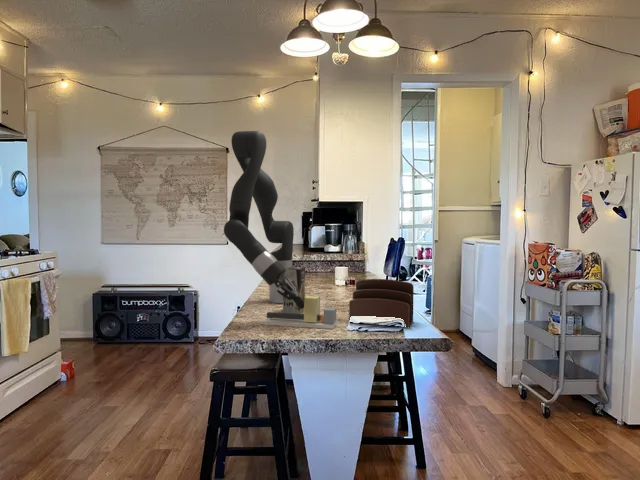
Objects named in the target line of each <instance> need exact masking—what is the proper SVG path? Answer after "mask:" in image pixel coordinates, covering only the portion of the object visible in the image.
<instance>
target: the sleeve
mask: <svg viewBox="0 0 640 480" xmlns="http://www.w3.org/2000/svg"><path fill="white" fill-rule="evenodd" d="M303 314H304V322H317V315H321V295H307V296H305V298H304V310H303Z"/></svg>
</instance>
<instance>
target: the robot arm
mask: <svg viewBox="0 0 640 480" xmlns="http://www.w3.org/2000/svg"><path fill="white" fill-rule="evenodd" d="M231 147H232V151H233V154H234V156H235V158H236V160H237V162H238V164H239V167H240V168H241V170H242V174H241V176H240V177H239V178H238V179H237V180H236V182H235V183H234V185H233V187H232V191H231V195H230V200H229V207H228V209H229V219H228V221H226V222H225V224H224V226H223V233H224V236H225V238H227V240H228V241H229V242H230V243H232V245H234V246H235V247H236V248H237V250H239V252H240V253H241V254H242V255H243V257H244V258H245V260H246V261H247V262H248V263H249V264H250V265H251V266H252V267H253V268H254V270H255V271H256V273H257V274H258V275H259V276H260V277H261V278H262V279H263V281H264V282H265V283H266V284H268V285H269V294H268V295H269V296H268V297H269V298H268V299H269V302H270V303H273V304H283V296H284V297H285V298H287V299H288V300H292V301H294V302H295V303H296V304H297V305H298V306H299V307H300V308H301V309H303V308H304V300H303V299H302V298H301V297H300V292H299V290H298V288H297V286H296V284H295V283H294V281H292V282H291V281H290V279H288V278H286V277H285V276H284V274H285V272H286V268H289V267H293V251H294V235H295V234H294V229H295V228H294V225H293V223H292V222H291V221H290V220H275V219H274V217H273V211H274V209H275V207H276V205H277V202H278V199H279V196H278V191H277V188H276V186H275V182H274V180H273V179H272V178H271V176H269V174H267V173H266V172H265V171H264V169H262V164H263V161H264V158H265V156H266V151H267V138H266V135H265V134H264V132H262V131H261V130H242V131H241V130H240V131H236V132H234V133H233V134H232V136H231ZM252 200H254V204H256V207H257V211H258V213H259V217H260V219H261V223H262V227H263V230H264V234H265V238H266V240H267V241H268V243H271V244H281V247H280V248H279V249H277V250H275V251H272V252H270V251H269V250H267V248H265V246H264V245H263V244H262V243H261V242H260V241H259V240H257V238H256V237H255V235H254V234H253V233H252V232H251V231H250V230H249V223H250V212H251V206H252Z"/></svg>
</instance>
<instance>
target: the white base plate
mask: <svg viewBox="0 0 640 480" xmlns="http://www.w3.org/2000/svg"><path fill="white" fill-rule="evenodd" d="M338 322H339V321H338V319H337V307H325V308H324V309H323V313H322V314H321V313H320V315H317V322H304V313H300V314H294V313H283V312H274V311H273V312H272V311H268V312H266V319H264V320H262V325H264V326H265V325H267V326H282V327H283V326H284V327H299V328H311V329H312V328H314V329H315V328H316V329H329V330H333V329H334V328H335V327H336V326H337V325H338Z"/></svg>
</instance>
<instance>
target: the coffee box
mask: <svg viewBox="0 0 640 480" xmlns="http://www.w3.org/2000/svg"><path fill="white" fill-rule="evenodd" d="M284 276H285V277H286V278H288V279H290V281H291V282H292V281H294V283H295V284H296V286H297V288H298V290H299V292H300V297H301V298H302V299H303V300H304V298H305V297H306V267H304V266H303V267H302V266H301V267H300V266H295V267H293V266H292V267H289V268H286V272H285V274H284ZM302 312H304V308H303V309H301V308H300V307H299V306H298V305H297V304H296V303H295V302H294V301H292V300H288V299H287V298H285V297H284V296H283V303H282V313H294V314H302Z"/></svg>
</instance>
